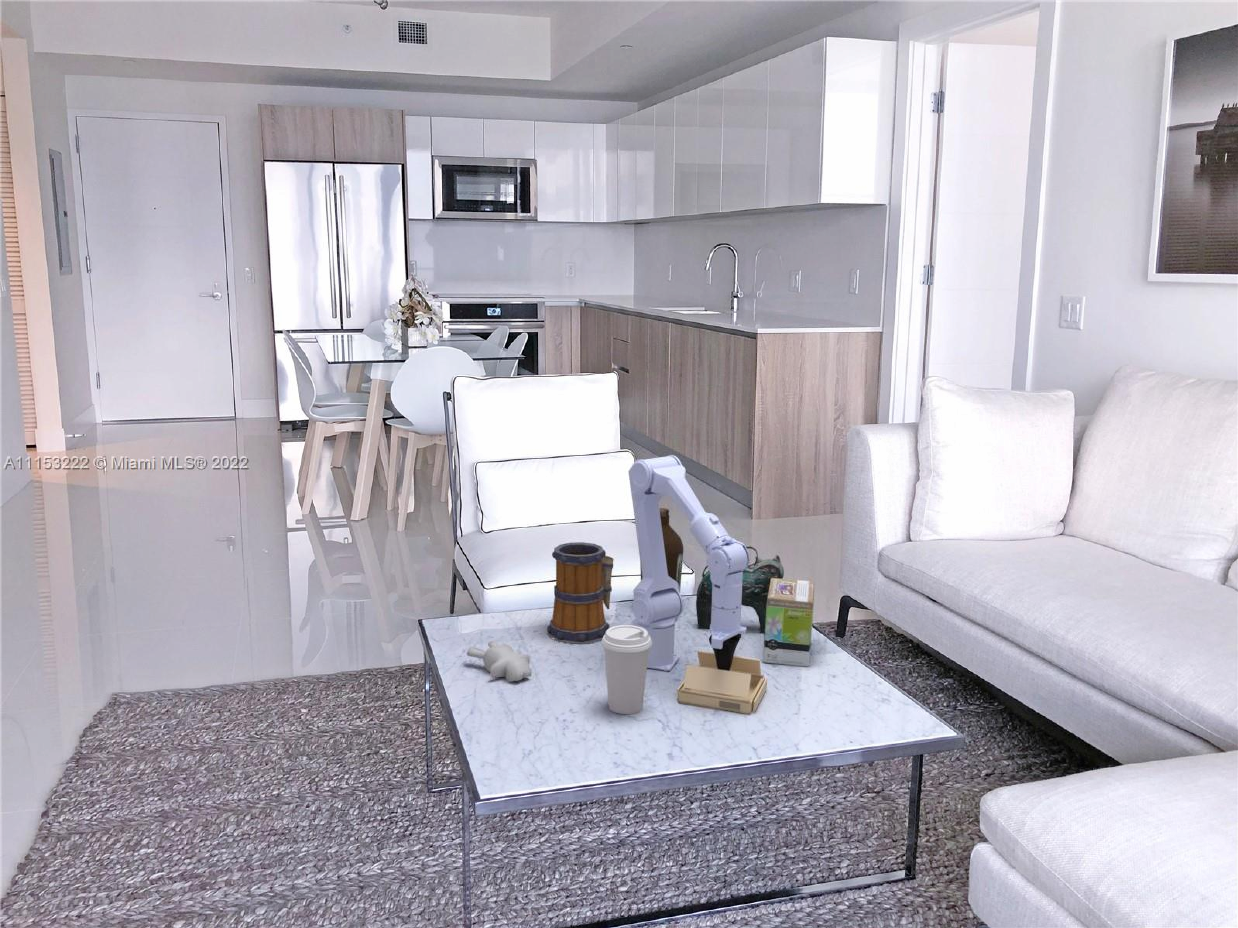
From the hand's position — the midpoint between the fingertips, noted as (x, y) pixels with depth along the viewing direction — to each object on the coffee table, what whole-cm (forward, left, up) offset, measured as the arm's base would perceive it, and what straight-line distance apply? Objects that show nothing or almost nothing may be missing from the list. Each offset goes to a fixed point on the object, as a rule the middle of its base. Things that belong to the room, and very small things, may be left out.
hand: (723, 670), depth 195 cm
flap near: (0, -7, -2) cm, 7 cm away
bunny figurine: (-45, -6, -5) cm, 46 cm away
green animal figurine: (-5, +36, -5) cm, 37 cm away
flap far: (0, +6, -2) cm, 6 cm away
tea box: (+8, +27, -5) cm, 28 cm away
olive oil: (-26, +44, -5) cm, 51 cm away
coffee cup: (-16, -12, -5) cm, 21 cm away
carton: (0, 0, -5) cm, 5 cm away
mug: (-38, +23, -5) cm, 45 cm away
